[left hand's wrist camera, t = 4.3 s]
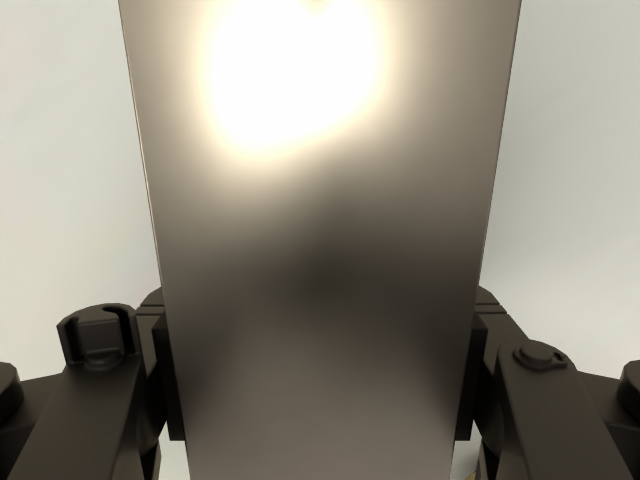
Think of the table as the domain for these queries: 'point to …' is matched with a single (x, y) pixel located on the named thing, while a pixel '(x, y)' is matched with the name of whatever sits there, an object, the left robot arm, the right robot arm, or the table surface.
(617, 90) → the table surface
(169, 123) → the bar
